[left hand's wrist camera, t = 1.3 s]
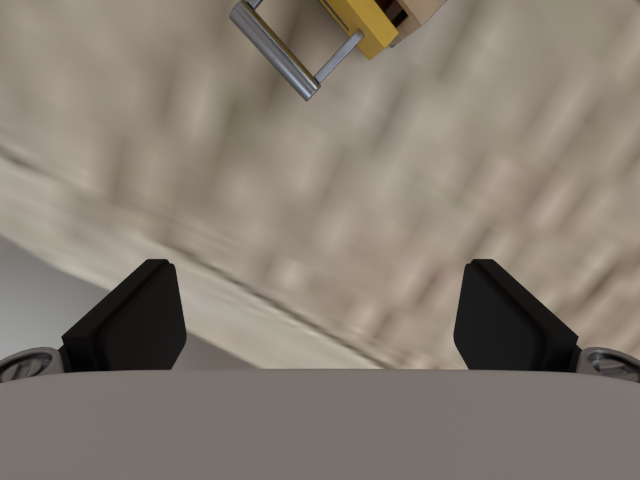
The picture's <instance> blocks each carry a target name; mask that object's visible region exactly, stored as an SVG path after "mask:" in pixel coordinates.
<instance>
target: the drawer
mask: <svg viewBox="0 0 640 480" xmlns="http://www.w3.org/2000/svg"><path fill="white" fill-rule="evenodd" d="M262 1H263V0H247V1H246V0H241V1H240V2H238V3H237V4H236V5H235V7H234V8H233V9H232V11H231V13H230V19H231V20H232V22H233V23H234V24H235V25H236V26H237V27H238V28H239V29H240V30H241V31H242V32H243V34H244V35H245V36H246V37H247V38H248V39H249V40H250V41H251V42H252V43H253V44H254V46H255V47H256V48H257V49H258V50H259V51H260V52H261V53H262V54H263V55H264V56H265V57H266V59H267V60H268V61H269V62H270V63H271V64H272V65H273V66H274V67H275V68H276V69H277V71H278V72H279V73H280V74H281V75H282V76H283V77H284V78H285V79H286V80H287V81H288V83H289V84H290V85H291V86H292V87H293V88H294V89H295V90H296V91H297V92H298V93H299V95H300V96H301V97H302V98H303V99H304V100H305V101H306V102H307V101H308V100H309V99H310V98H311V97H312V96H313V95H314V94H315V93H316V92H317V91H318V90H319V89H320V87H321V85H320V83H321V82H322V81H323V80H324V79H325V78H326V77H327V76H328V75H329V74H330V72H331V71H332V70H333V69H334V68H335V67H336V66H337V65H338V64H339V63H340V62H341V61H342V60H343V59H344V58H345V56H346V55H347V54H348V53H349V52H350V51H351V50H352V49H353V48H354V47H355V46H356V45H357V46H358V48H359V49H360V50H361V51H362V53H363V54H364V55H365V56H366V57H367V59H368V60H371V59H372V58H373V57H374V56H376V55H377V54H378V53H379V52H381V51H382V50H383V49H384V48H386V47H387V46H388V45H389V44H390V42H391V41H392V40H393V39H394V38H395V37H396V36H397V35H398V34H399V32H398V31H397V29H396V28H395V27H394V25H393V24H392V23H391V22H392V21H393V19H394V18H395V17H396V16H397V15H398V14H399V13H400V12H401V11H402V10H403V8H402V6H401V5H400V4H399V2H398V1H397V0H320V1H321V3H322V4H323V5H324V6H325V7H326V9H327V10H328V11H329V12H330V14H331V15H332V16H333V17H334V18H335V20H336V21H337V22H338V23H339V25H340V26H341V27H342V28H343V29H344V31H345V32H346V33H347V34H348V36H349V37H350V38H349V39H348V40H347V41H346V42H345V43H344V44H343V46H342V47H341V48H340V49H339V50H338V51H337V52H336V53H335V54H334V55H333V56H332V57H331V59H330V60H329V61H328V62H327V63H326V64H325V65H324V66H323V67H322V68H321V69H320V70H319V71H318V73H317V74H316V75H315V76H314V77H313V76H312V74H311V73H310V72H309V71H308V70H307V69H306V68H305V67H304V65H303V64H302V63H301V62H300V61H299V60H298V59H297V58H296V56H295V55H294V54H293V53H292V52H291V51H290V50H289V49H288V47H287V46H286V45H285V44H284V43H283V42H282V41H281V40H280V38H279V37H278V36H277V35H276V34H275V33H274V32H273V31H272V29H271V28H270V27H269V26H268V25H267V24H266V23H265V22H264V20H263V19H262V18H261V17H260V16H259V15H258V14H257V13H256V11H255V10H256V8H257V7H258V6H259V5H260V3H261V2H262Z"/></svg>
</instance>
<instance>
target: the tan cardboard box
mask: <svg viewBox="0 0 640 480" xmlns="http://www.w3.org/2000/svg"><path fill="white" fill-rule="evenodd" d="M397 1H398V2H399V4H400V5H401V6H402V8H403V10H402V11H401V12H400V13H399V14H398V15H397V16H396V17H395V18H394V19H393V21H392V22H391V23H392V24H393V25H394V27H395V28H396V29H397V31H398V32H399V34H398V35H397V36H396V37H395V38H394V39H393V40H392V41H391V42H390V44H389V45H390V46H391V48H393V47H394V46H395V45H396V44H398V43H399V42H400V41H402V40H403V39H404V38H406V37H407V36H409V35H410V34H411V33H413V32H414V31H415V30H417V29H418V28H420V27H421V26H422V25H423V24H424V23H425V22H426V21H427V20H428V19H429V18H430V17H431V16H432V15H433V14H434V13H435V12H436V11H437V10H438V9H439V8H440V7H441V6H442V5H443V4H444V3H445V2H446V1H447V0H397Z"/></svg>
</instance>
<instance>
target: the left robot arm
mask: <svg viewBox="0 0 640 480" xmlns="http://www.w3.org/2000/svg"><path fill="white" fill-rule="evenodd" d="M186 337H187V335H186V328H185V322H184V316H183V310H182V304H181V299H180V293H179V287H178V281H177V275H176V269H175V266H174V264H170V263H169V261H168V260H167V259H147V260H146V261H145V262H144V263H142V264H141V265H140V266H139V267H138V268H137V269H136V270H135V271H134V272H132V273H131V274H130V275H129V276H128V277H127V278H126V279H125V280H124V281H122V282H121V283H120V284H119V285H118V286H117V287H116V288H115V289H114V290H112V291H111V292H110V293H109V294H108V295H107V296H106V297H105V298H104V299H103V300H101V301H100V302H99V303H98V304H97V305H96V306H95V307H94V308H93V309H91V310H90V311H89V312H88V313H87V314H86V315H85V316H84V317H83V318H81V319H80V320H79V321H78V322H77V323H76V324H75V325H74V326H73V327H71V328H70V329H69V330H68V331H67V332H66V333H65V334H64V335H63V336H62V340H63V343H64V345H63V346H62V347H61V348H60V349H58V350H56V349H54V348H51V347H39V348H32V349H28V350H24V351H20V352H18V353H15V354H13V355H10V356H8V357H6V358H4V359H2V360H0V480H640V360H638V359H636V358H634V357H632V356H630V355H627V354H625V353H622V352H620V351H616V350H612V349H608V348H601V347H589V348H586V349H584V350H582V349H580V348H579V347H578V346H577V345H576V343H577V340H578V336H577V335H576V334H575V333H574V332H573V331H572V330H571V329H570V328H569V327H567V326H566V325H565V324H564V323H563V322H562V321H561V320H560V319H559V318H557V317H556V316H555V315H554V314H553V313H552V312H551V311H550V310H549V309H547V308H546V307H545V306H544V305H543V304H542V303H541V302H540V301H539V300H537V299H536V298H535V297H534V296H533V295H532V294H531V293H530V292H529V291H528V290H526V289H525V288H524V287H523V286H522V285H521V284H520V283H519V282H518V281H516V280H515V279H514V278H513V277H512V276H511V275H510V274H509V273H508V272H506V271H505V270H504V269H503V268H502V267H501V266H500V265H499V264H498V263H496V262H495V261H494V260H493V259H473V260H472V261H471V263H470V264H466V266H465V269H464V275H463V281H462V287H461V293H460V299H459V304H458V310H457V316H456V322H455V328H454V335H453V337H454V343H455V345H456V347H457V349H458V351H459V353H460V354H461V356H462V358H463V360H464V362H465V363H466V365H467V367H468V369H469V370H429V369H208V370H171V369H172V367H173V365H174V363H175V362H176V360H177V358H178V356H179V354H180V353H181V351H182V349H183V347H184V345H185V343H186Z"/></svg>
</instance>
